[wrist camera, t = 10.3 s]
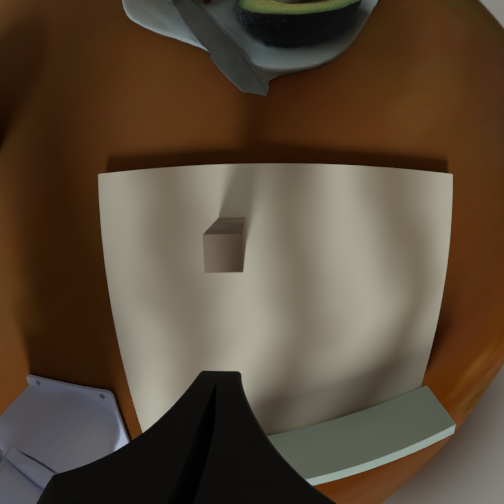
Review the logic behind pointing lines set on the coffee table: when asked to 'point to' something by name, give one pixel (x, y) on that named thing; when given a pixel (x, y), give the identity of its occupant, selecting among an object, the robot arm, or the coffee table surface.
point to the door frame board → (276, 283)
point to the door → (365, 437)
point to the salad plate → (258, 33)
